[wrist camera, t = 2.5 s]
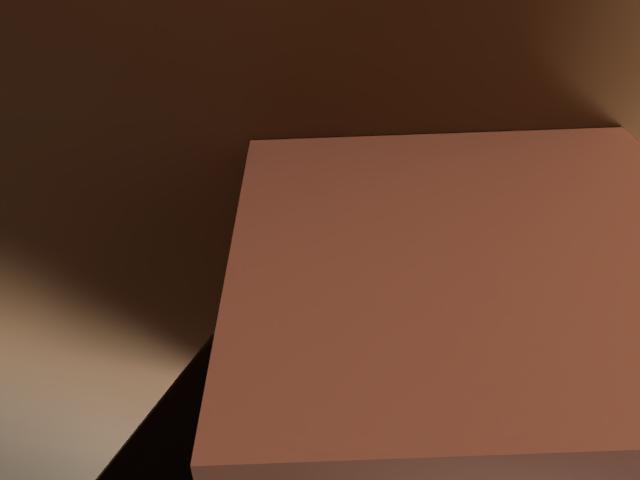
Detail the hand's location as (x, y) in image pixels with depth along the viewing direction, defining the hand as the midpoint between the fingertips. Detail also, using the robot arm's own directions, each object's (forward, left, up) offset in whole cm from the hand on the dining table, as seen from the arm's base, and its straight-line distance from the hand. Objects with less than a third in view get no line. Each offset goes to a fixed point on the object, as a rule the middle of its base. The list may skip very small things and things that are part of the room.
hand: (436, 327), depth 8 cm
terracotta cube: (0, 0, -1) cm, 1 cm away
